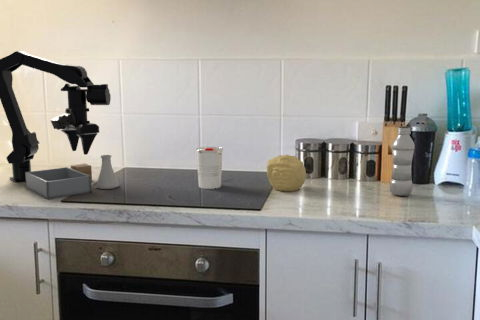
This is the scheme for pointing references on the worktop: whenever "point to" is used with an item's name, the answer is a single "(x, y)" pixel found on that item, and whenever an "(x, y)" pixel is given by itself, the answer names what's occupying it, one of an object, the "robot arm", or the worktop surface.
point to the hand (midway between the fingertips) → (79, 152)
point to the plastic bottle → (402, 162)
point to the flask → (107, 174)
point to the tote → (58, 182)
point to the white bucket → (209, 167)
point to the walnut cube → (83, 169)
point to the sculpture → (286, 173)
